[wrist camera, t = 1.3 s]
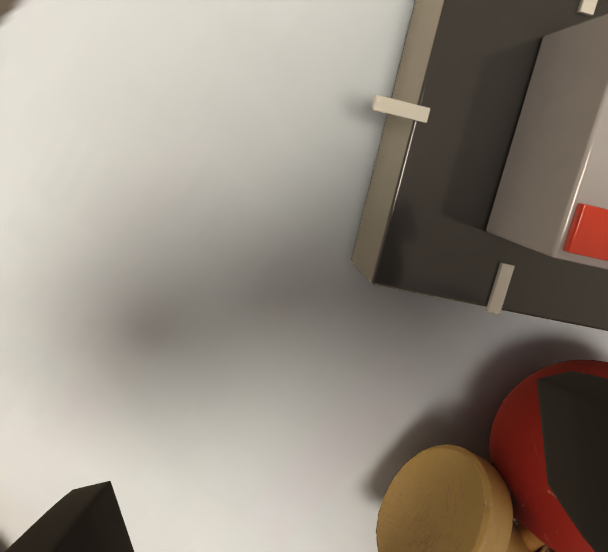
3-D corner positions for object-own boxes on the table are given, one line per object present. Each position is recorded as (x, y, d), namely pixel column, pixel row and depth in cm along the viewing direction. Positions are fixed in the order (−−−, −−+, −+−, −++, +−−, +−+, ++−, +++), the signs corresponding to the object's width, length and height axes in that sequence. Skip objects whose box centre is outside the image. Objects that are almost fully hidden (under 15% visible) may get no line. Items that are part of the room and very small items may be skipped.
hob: (755, 50, 17) (863, 31, 14) (653, 325, 19) (729, 359, 16) (390, -58, 16) (424, -106, 13) (316, 256, 18) (331, 281, 15)
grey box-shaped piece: (542, 34, 14) (645, -2, 10) (607, 52, 14) (729, 23, 10) (483, 232, 15) (558, 260, 11) (545, 245, 15) (637, 277, 12)
